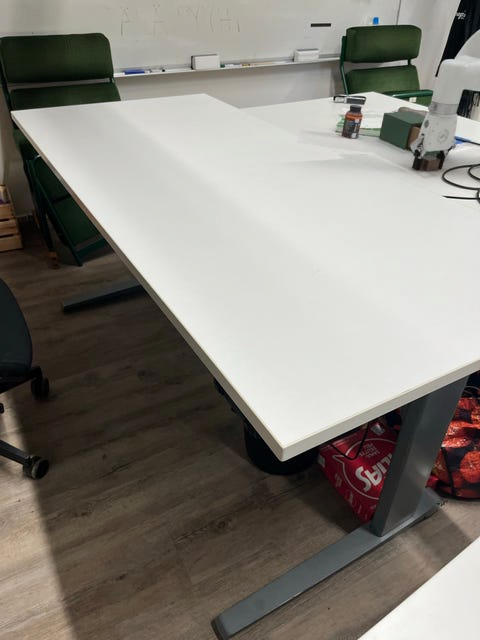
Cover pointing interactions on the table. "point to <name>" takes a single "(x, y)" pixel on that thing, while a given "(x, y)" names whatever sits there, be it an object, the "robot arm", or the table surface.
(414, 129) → the drawer
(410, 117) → the cabinet
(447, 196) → the table surface
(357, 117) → the supplement bottle
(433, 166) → the block
